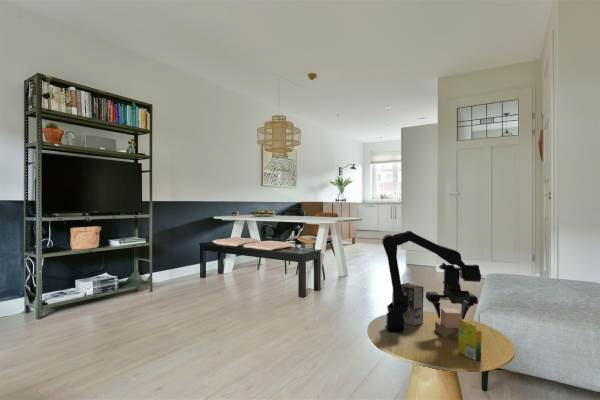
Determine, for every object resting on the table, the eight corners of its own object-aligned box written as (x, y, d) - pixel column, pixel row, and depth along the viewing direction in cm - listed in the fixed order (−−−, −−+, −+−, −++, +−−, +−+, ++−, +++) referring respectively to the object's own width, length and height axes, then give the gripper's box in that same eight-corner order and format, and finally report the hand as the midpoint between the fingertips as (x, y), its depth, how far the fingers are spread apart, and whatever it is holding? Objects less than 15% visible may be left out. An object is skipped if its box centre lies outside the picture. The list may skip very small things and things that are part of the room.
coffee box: (423, 323, 150) (424, 286, 150) (413, 325, 146) (414, 288, 146) (407, 317, 157) (408, 282, 157) (397, 319, 154) (398, 283, 154)
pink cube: (445, 327, 135) (445, 312, 135) (440, 322, 141) (441, 307, 141) (461, 328, 134) (461, 313, 134) (455, 323, 140) (456, 308, 140)
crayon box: (481, 359, 116) (482, 325, 116) (475, 361, 115) (475, 326, 115) (464, 350, 123) (464, 318, 123) (457, 351, 122) (458, 319, 122)
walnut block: (444, 339, 133) (444, 329, 133) (435, 330, 142) (435, 321, 142) (467, 340, 133) (467, 329, 133) (456, 331, 142) (456, 321, 142)
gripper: (433, 284, 131) (433, 324, 131) (484, 286, 129) (483, 327, 129) (425, 277, 142) (425, 315, 142) (472, 279, 140) (471, 317, 140)
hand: (450, 318), depth 138 cm, fingers open, 9 cm apart
